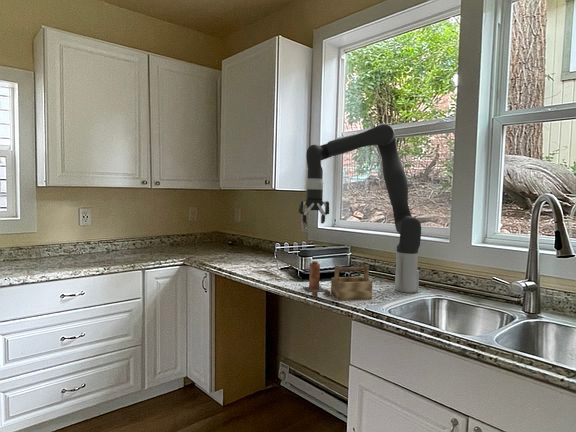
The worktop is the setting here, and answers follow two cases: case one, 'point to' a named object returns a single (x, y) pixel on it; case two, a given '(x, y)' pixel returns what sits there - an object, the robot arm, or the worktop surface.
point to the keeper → (324, 293)
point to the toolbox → (351, 284)
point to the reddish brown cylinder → (314, 275)
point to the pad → (316, 290)
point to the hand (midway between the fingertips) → (313, 223)
